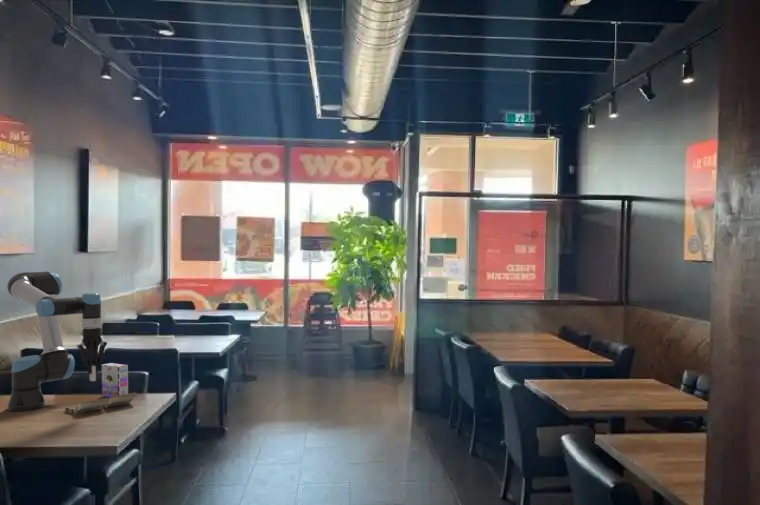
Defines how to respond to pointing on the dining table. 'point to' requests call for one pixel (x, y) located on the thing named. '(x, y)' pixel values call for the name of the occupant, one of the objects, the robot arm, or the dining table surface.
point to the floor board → (71, 408)
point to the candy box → (114, 380)
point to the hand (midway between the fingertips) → (92, 380)
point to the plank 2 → (120, 399)
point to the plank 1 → (90, 405)
